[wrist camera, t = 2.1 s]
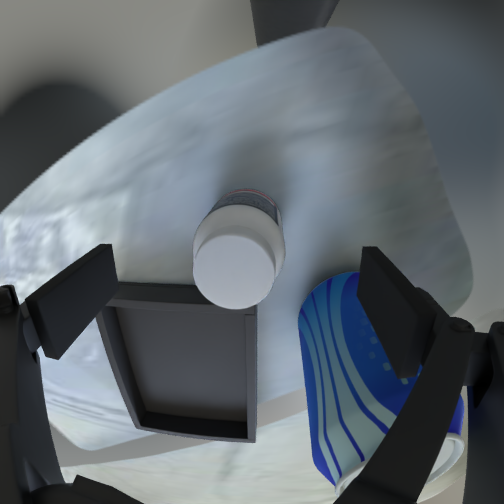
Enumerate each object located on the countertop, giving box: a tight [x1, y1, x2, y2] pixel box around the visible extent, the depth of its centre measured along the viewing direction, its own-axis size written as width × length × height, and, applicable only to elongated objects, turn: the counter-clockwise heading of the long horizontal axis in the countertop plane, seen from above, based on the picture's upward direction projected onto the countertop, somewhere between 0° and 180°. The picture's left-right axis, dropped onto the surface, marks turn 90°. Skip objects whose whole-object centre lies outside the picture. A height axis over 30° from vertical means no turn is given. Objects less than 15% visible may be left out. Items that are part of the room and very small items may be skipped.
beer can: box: [298, 272, 464, 497], centre depth 17 cm, size 8×8×16 cm
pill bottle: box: [193, 189, 285, 309], centre depth 18 cm, size 5×5×9 cm
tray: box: [96, 282, 257, 443], centre depth 26 cm, size 18×14×3 cm
